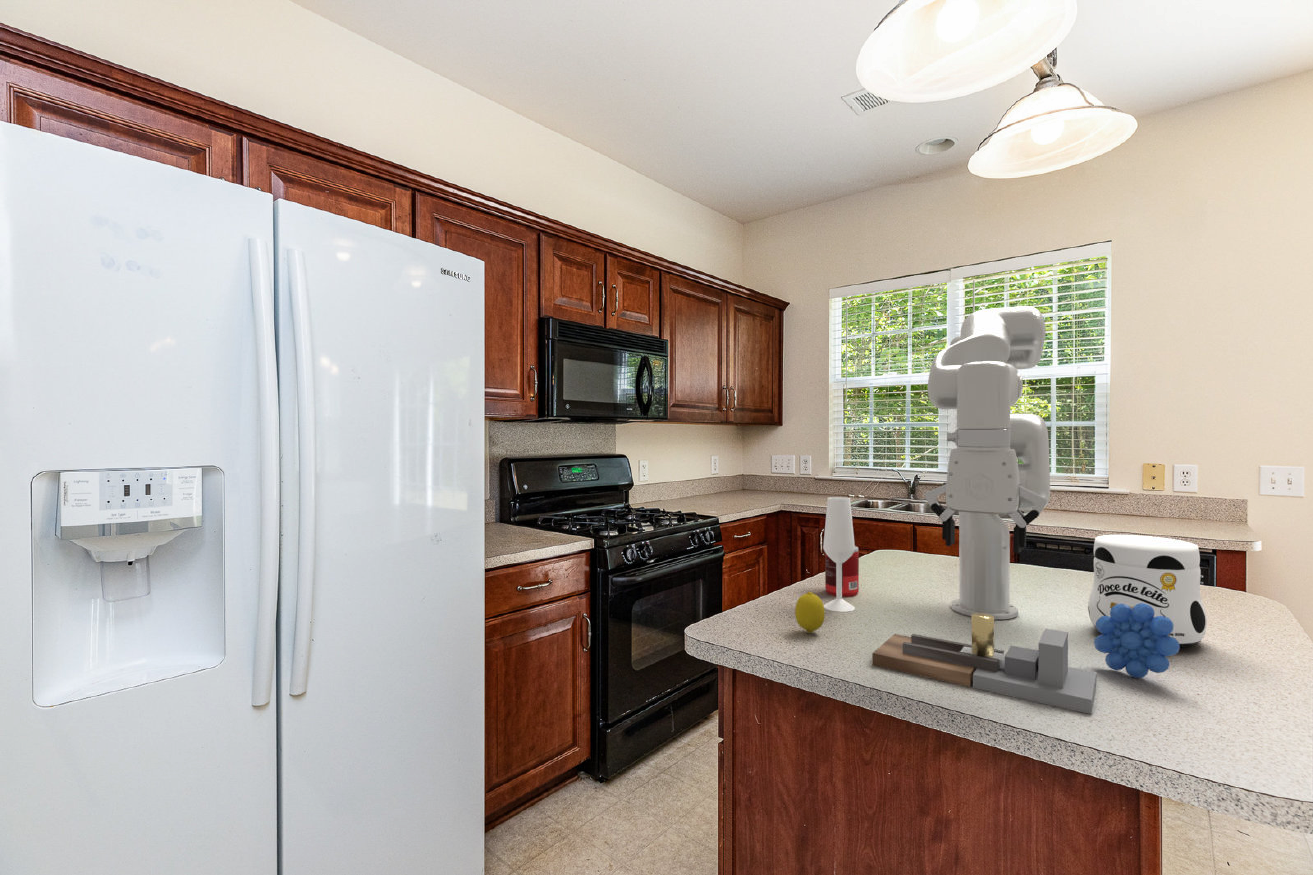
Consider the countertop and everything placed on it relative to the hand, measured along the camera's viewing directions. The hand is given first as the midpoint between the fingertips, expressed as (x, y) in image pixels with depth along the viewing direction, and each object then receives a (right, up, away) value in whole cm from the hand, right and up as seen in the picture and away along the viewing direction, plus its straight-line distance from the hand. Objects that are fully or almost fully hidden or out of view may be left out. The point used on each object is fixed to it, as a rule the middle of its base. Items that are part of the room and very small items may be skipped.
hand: (983, 548), depth 99 cm
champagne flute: (-12, -20, +38) cm, 45 cm away
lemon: (-22, -20, +21) cm, 37 cm away
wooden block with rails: (-5, -20, +4) cm, 21 cm away
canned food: (-8, -20, +50) cm, 54 cm away
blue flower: (+24, -20, -1) cm, 31 cm away
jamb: (+6, -20, -4) cm, 21 cm away
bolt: (+2, -18, -1) cm, 18 cm away
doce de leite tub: (+39, -20, +17) cm, 47 cm away
